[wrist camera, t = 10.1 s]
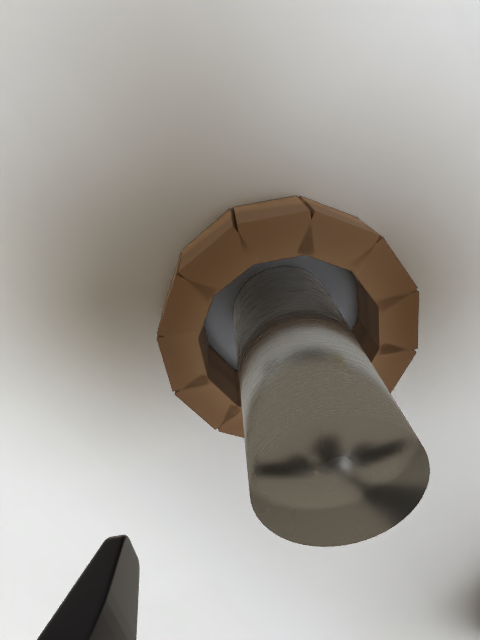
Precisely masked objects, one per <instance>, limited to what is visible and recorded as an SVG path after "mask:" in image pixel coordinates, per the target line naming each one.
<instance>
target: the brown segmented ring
mask: <svg viewBox="0 0 480 640" xmlns="http://www.w3.org/2000/svg"><path fill="white" fill-rule="evenodd" d="M234 212H235V215H234V214H233V212H232V211H231V210H230V209H229V210H228V211H227V212H226V213H225V214H223V215H222V216H221V217H220V218H219V219H218V220H216V221H215V222H214V223H213V224H212V225H211V226H209V227H208V228H207V229H206V230H205V231H204V232H202V233H201V234H200V235H199V236H198V237H197V238H195V239H194V240H193V241H192V242H191V243H190V244H189V245H187V246H186V247H185V248H184V249H183V253H181V254H180V257H179V260H178V264H177V267H176V270H175V273H174V276H173V279H172V282H171V286H170V289H169V292H168V295H167V298H166V301H165V304H164V308H163V312H162V316H161V320H160V324H159V328H158V332H157V335H158V336H157V341H158V344H159V347H160V351H161V354H162V357H163V361H164V364H165V367H166V371H167V374H168V377H169V381H170V384H171V388H172V391H175V395H176V396H177V397H178V398H179V399H181V400H182V401H183V402H184V403H185V404H186V405H187V406H189V407H190V408H191V409H192V410H193V411H194V412H195V413H197V414H198V415H199V416H200V417H201V418H202V419H203V420H205V421H206V422H207V423H208V424H209V425H210V426H211V427H213V428H214V429H217V428H218V431H219V432H223V433H227V434H231V435H235V436H239V437H243V438H245V437H244V426H243V415H242V404H241V394H240V383H239V372H238V371H235V370H234V369H233V368H232V367H231V366H230V365H229V364H228V363H227V362H226V361H225V360H224V359H223V358H222V357H221V356H219V355H218V354H217V353H216V352H215V351H214V350H213V349H212V348H211V347H210V346H209V344H208V340H207V336H206V332H205V328H204V321H205V318H206V316H207V313H208V310H209V307H210V305H211V302H212V299H213V297H214V296H215V295H216V294H217V293H218V292H220V291H221V290H222V289H223V288H224V287H226V286H227V285H228V284H229V283H231V282H232V281H233V280H234V279H236V278H237V277H238V276H239V275H241V274H242V273H243V272H244V271H246V270H247V269H248V268H249V267H251V266H252V265H253V264H258V263H264V262H269V261H275V260H280V259H286V258H291V257H297V256H302V255H307V256H310V257H313V258H316V259H318V260H321V261H324V262H327V263H330V264H333V265H336V266H338V267H341V268H344V269H347V270H349V271H350V272H351V273H352V275H353V276H354V277H355V279H356V280H357V292H358V313H359V319H358V321H357V322H356V324H355V326H354V328H353V330H352V333H353V334H354V336H355V337H356V339H357V341H358V342H359V344H360V346H361V347H362V349H363V350H364V352H365V354H366V355H367V357H368V358H369V360H370V362H371V363H372V365H373V367H374V368H375V370H376V371H377V373H378V375H379V376H380V378H381V379H382V381H383V383H384V384H385V386H386V388H387V389H388V391H389V392H390V394H391V392H392V390H393V389H394V387H395V386H396V384H397V382H398V381H399V379H400V378H401V376H402V375H403V373H404V371H405V370H406V368H407V367H408V365H409V363H410V362H411V360H412V359H413V357H414V355H415V354H416V351H415V350H414V349H418V312H419V291H417V290H416V289H417V288H418V287H417V286H416V285H415V283H414V282H413V280H412V279H411V277H410V276H409V274H408V273H407V271H406V270H405V268H404V267H403V266H402V264H401V263H400V261H399V260H398V258H397V257H396V255H395V254H394V252H393V251H392V250H391V248H390V247H389V245H388V244H387V242H386V241H385V239H384V238H383V237H382V236H380V235H379V234H378V233H377V232H375V231H374V230H373V229H371V228H370V227H369V226H367V225H366V224H365V223H363V222H362V221H361V220H359V219H358V218H357V217H354V216H352V215H349V214H347V213H344V212H341V211H339V210H336V209H333V208H331V207H328V206H326V205H323V204H320V203H318V202H315V201H312V200H310V199H307V198H305V197H302V196H300V198H298V197H297V196H291V197H286V198H280V199H275V200H270V201H264V202H259V203H253V204H248V205H243V206H237V207H234Z"/></svg>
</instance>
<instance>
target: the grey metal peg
mask: <svg viewBox="0 0 480 640" xmlns="http://www.w3.org/2000/svg"><path fill="white" fill-rule="evenodd" d="M233 318H234V329H235V340H236V351H237V361H238V372H239V383H240V394H241V404H242V415H243V426H244V437H245V448H246V458H247V469H248V480H249V491H250V499H251V504H252V507H253V510H254V512H255V514H256V516H257V517H258V519H259V520H260V521H261V522H262V524H263V525H265V526H266V527H267V528H268V529H269V530H270V531H272V532H273V533H275V534H276V535H278V536H280V537H282V538H284V539H286V540H289V541H292V542H295V543H299V544H303V545H309V546H320V547H329V546H341V545H348V544H352V543H357V542H360V541H364V540H367V539H369V538H372V537H375V536H377V535H379V534H381V533H383V532H385V531H387V530H388V529H390V528H392V527H393V526H395V525H396V524H398V523H399V522H400V521H402V520H403V519H404V518H405V517H406V516H407V515H408V514H410V513H411V511H412V510H413V509H414V508H415V507H416V506H417V504H418V503H419V501H420V500H421V498H422V496H423V494H424V492H425V490H426V488H427V484H428V481H429V474H430V467H429V460H428V456H427V454H426V452H425V449H424V447H423V446H422V444H421V442H420V441H419V439H418V438H417V436H416V434H415V433H414V431H413V430H412V428H411V426H410V425H409V423H408V421H407V420H406V418H405V417H404V415H403V413H402V412H401V410H400V409H399V407H398V405H397V404H396V402H395V400H394V399H393V397H392V396H391V394H390V392H389V391H388V389H387V388H386V386H385V384H384V383H383V381H382V379H381V378H380V376H379V375H378V373H377V371H376V370H375V368H374V367H373V365H372V363H371V362H370V360H369V358H368V357H367V355H366V354H365V352H364V350H363V349H362V347H361V346H360V344H359V342H358V341H357V339H356V337H355V336H354V334H353V333H352V331H351V329H350V328H349V326H348V325H347V323H346V321H345V320H344V318H343V316H342V315H341V313H340V312H339V310H338V308H337V307H336V305H335V304H334V302H333V300H332V299H331V297H330V295H329V294H328V292H327V291H326V289H325V287H324V286H323V285H322V283H321V282H320V281H319V280H318V279H317V278H316V277H315V276H314V275H312V274H311V273H309V272H307V271H305V270H302V269H299V268H296V267H287V266H282V267H274V268H270V269H267V270H264V271H262V272H260V273H258V274H256V275H255V276H254V277H252V278H251V279H250V280H249V281H247V282H246V284H245V285H244V286H243V287H242V288H241V290H240V292H239V293H238V295H237V297H236V300H235V303H234V309H233Z"/></svg>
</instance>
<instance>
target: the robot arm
mask: <svg viewBox="0 0 480 640" xmlns="http://www.w3.org/2000/svg"><path fill="white" fill-rule="evenodd" d="M138 592H139V560H138V557H137V555H136V553H135V550H134V548H133V546H132V544H131V541H130V539H129V538H128V536H126V535H119V536H113V537H109V538H107V539H106V540H105V541H104V542H103V544H102V545H101V547H100V548H99V550H98V551H97V552H96V554H95V555H94V557H93V558H92V560H91V561H90V563H89V564H88V566H87V567H86V569H85V570H84V572H83V573H82V574H81V576H80V577H79V579H78V580H77V582H76V583H75V585H74V586H73V588H72V589H71V591H70V592H69V593H68V595H67V596H66V598H65V599H64V601H63V602H62V604H61V605H60V607H59V608H58V610H57V611H56V613H55V614H54V615H53V617H52V618H51V620H50V621H49V623H48V624H47V626H46V627H45V629H44V630H43V632H42V633H41V634H40V636H39V637H38V639H37V640H136V634H137V613H138Z"/></svg>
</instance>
